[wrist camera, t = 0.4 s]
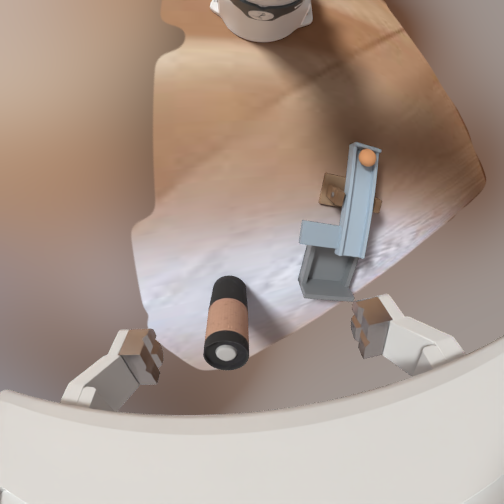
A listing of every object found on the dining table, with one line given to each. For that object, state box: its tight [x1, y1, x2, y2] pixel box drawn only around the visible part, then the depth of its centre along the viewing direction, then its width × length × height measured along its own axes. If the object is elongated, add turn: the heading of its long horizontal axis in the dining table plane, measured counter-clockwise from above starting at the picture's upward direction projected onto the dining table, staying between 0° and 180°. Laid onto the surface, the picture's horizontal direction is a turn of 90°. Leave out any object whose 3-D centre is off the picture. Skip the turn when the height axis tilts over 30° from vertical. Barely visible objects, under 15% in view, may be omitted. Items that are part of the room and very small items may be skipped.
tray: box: [298, 245, 359, 302], centre depth 55 cm, size 12×11×7 cm
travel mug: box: [203, 276, 249, 370], centre depth 52 cm, size 8×8×20 cm
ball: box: [359, 149, 376, 167], centre depth 43 cm, size 3×3×3 cm
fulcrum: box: [319, 173, 382, 213], centre depth 49 cm, size 6×10×7 cm, turn 81°
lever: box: [299, 142, 381, 259], centre depth 46 cm, size 20×12×3 cm, turn 173°
